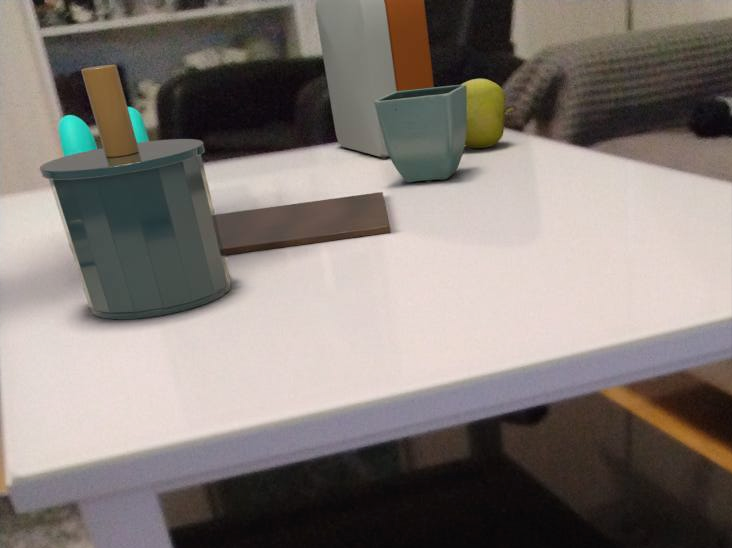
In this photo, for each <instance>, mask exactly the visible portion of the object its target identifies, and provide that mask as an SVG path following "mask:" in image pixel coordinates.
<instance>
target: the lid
mask: <svg viewBox="0 0 732 548" xmlns="http://www.w3.org/2000/svg"><path fill="white" fill-rule="evenodd" d="M80 71H81V75H82V79H83V82H84V85H85V89H86V92H87V93H86V94H87V96H88V97H87V98H88V100H89V103H90V107H91V111H92V114H93V117H94V121H95V125H96V128H97V132H98V135H99V139H100V142H101V146H102V147H100V148H98V149H96V150H91V151H86V152H82V153H77V154H73V155H69V156H65V157H64V156H62V157H58V158H55V159H52V160H50V161H47V162H45V163H43V164H41V165H39V172H40V175H41V177H42V178H44V179H47V180H49V179H55V180H71V179H86V178H96V177H104V176H112V175H119V174H126V173H132V172H138V171H143V170H148V169H153V168H158V167H162V166H167V165H171V164H175V163H178V162H182V161H185V160H189V159H191V158H194V157H197V156H199V155H201V156H202V155H203V154H204V153H205V152H206V147H205V143H204V142H203V140H200V139H194V138H171V139H158V140H149V141H148V142H140V143H137V141H136V137H135V133H134V130H133V126H132V122H131V118H130V115H129V111H128V107H129V106H128V104H127V100H126V96H125V93H124V88H123V85H122V81H121V78H120V74H119V70H118V66H117V64H104V65H103V64H102V65H95V66H89V67H84V68H82V69H81V70H80Z"/></svg>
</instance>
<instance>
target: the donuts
mask: <svg viewBox="0 0 732 548" xmlns="http://www.w3.org/2000/svg"><path fill="white" fill-rule="evenodd" d="M127 107H128V111H129V115H130V118H131V122H132V126H133V130H134V133H135V137H136V141H137V143H140V142H148V141H150V139H149V136H148V132H147V129H146V125H145V122H144V119H143V116H142V115H141V113H140V112H139V111H138V110H137V109H136V108H134V107H132V106H127ZM58 135H59V141H60V145H61V150H62V154H63V157H65V156H69V155H73V154H77V153H82V152H86V151H91V150H96V149H99V148H98V145H97V143H96V139H95V136H94V135H93V132H92V130H91V129H90V127H89V126H88V125H87V123H86V122H85V121H84V120H83V119H82V118H80V117H79V116H76V115H74V114H68V115H64V116H63V117H62V118H61V119H60V121H59V123H58Z"/></svg>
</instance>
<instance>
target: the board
mask: <svg viewBox="0 0 732 548" xmlns="http://www.w3.org/2000/svg"><path fill="white" fill-rule="evenodd" d="M215 216H216V220H217V225H218V229H219V233H220V237H221V242H222V246H223V250H224V254H225V256H228V255H236V254H242V253H251V252H257V251H265V250H273V249H280V248H286V247H293V246H302V245H308V244H315V243H323V242H329V241H330V242H331V241H338V240H345V239H346V240H347V239H352V238H353V239H354V238H360V237H367V236H375V235H381V234H382V235H383V234H389V233H391V227H390V221H389V217H388V216H389V215H388V211H387V206H386V202H385V197H384V192H383V191H379V192H373V193H365V194H358V195H351V196H350V195H349V196H342V197H335V198H327V199H320V200H319V199H318V200H312V201H306V202H297V203H291V204H283V205H276V206H269V207H262V208H254V209H247V210H238V211H233V212H224V213H217V214H216V213H215Z"/></svg>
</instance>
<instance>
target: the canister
mask: <svg viewBox="0 0 732 548" xmlns="http://www.w3.org/2000/svg"><path fill="white" fill-rule="evenodd" d="M48 182H49V185H50V188H51V192H52V194H53V197H54V200H55V204H56V207H57V210H58V213H59V216H60V219H61V222H62V226H63V229H64V232H65V235H66V238H67V240H68V244H69V248H70V251H71V254H72V257H73V261H74V264H75V267H76V271H77V273H78V277H79V280H80V283H81V286H82V289H83V292H84V295H85V298H86V303H87V305H88V306H89V308H90V311H91V313H92V314H93V315H94V316H96V317H99V318H102V319H107V320H108V319H109V320H137V319H147V318H155V317H160V316H165V315H171V314H176V313H180V312H185V311H189V310H191V309H196V308H198V307H201V306H204V305H206V304H209V303H211V302H213V301H216V300H219V298H221V297H223V296H225V295H226V294H227V293H228V292H229V291H231V290H230V289H231V285H232V284H231V275H230V272H229V268H228V263H227V259H226V255H225V254H224V250H223V246H222V242H221V237H220V233H219V229H218V225H217V220H216V216H215V215H216V212H215V208H214V203H213V200H212V194H211V192H210V187H209V182H208V179H207V173H206V171H205V165H204V161H203V157H202V154H201V155H199V156H197V157H194V158H191V159H189V160H185V161H182V162H178V163H175V164H171V165H167V166H162V167H158V168H153V169H148V170H143V171H138V172H132V173H126V174H119V175H112V176H104V177H96V178H86V179H71V180H55V179H48Z"/></svg>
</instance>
